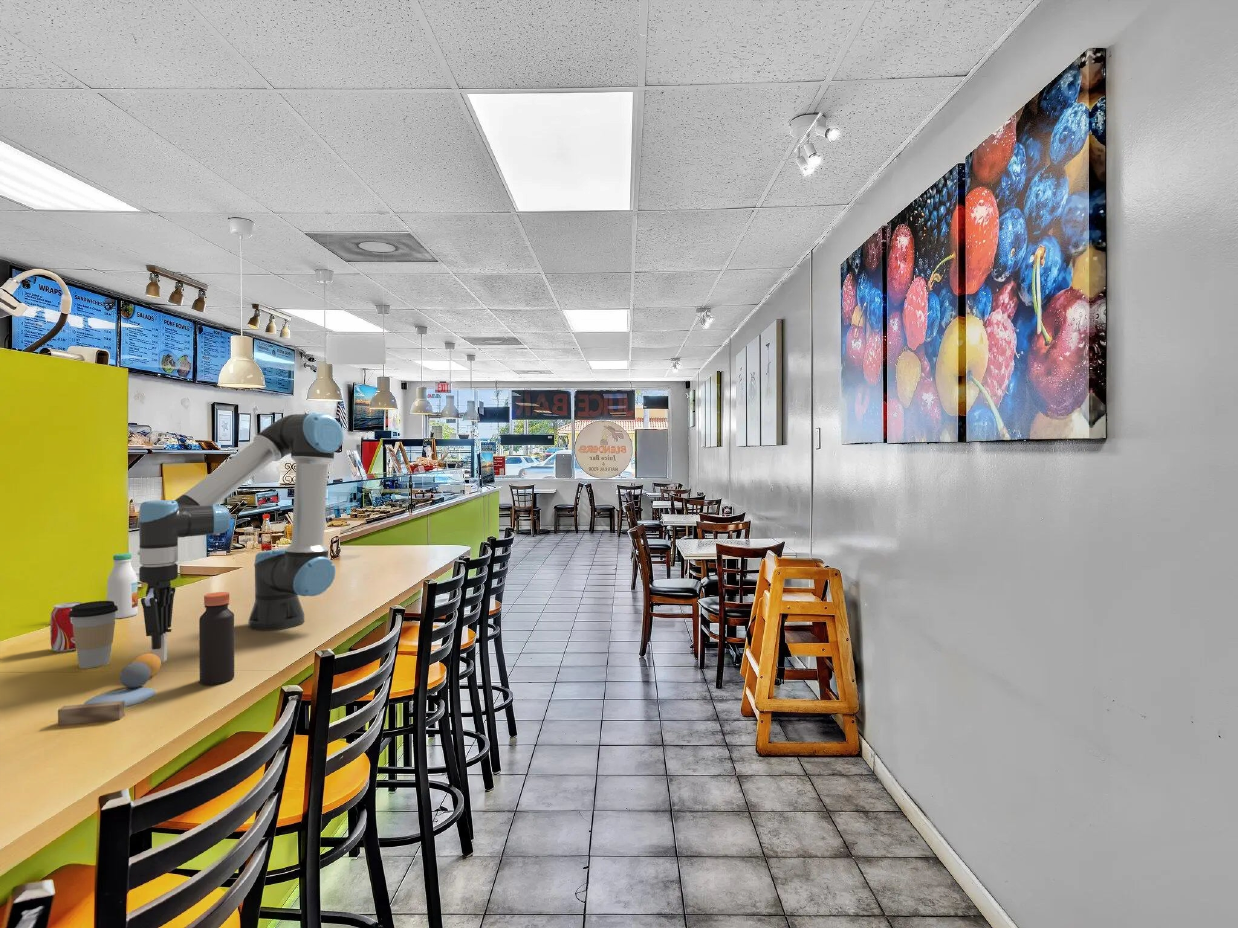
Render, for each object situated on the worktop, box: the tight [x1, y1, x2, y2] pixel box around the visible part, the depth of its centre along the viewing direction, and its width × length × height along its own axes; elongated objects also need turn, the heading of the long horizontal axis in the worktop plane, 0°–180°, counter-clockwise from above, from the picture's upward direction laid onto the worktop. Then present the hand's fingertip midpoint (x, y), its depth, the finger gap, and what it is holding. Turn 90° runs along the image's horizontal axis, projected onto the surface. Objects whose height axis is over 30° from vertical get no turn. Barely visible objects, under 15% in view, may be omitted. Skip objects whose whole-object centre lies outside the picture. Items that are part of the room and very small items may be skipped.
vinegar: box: [198, 591, 235, 686], centre depth 142 cm, size 7×7×20 cm
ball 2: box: [132, 652, 162, 678], centre depth 144 cm, size 6×6×6 cm
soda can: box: [49, 601, 83, 653], centre depth 165 cm, size 7×7×12 cm
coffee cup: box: [68, 600, 118, 669], centre depth 153 cm, size 9×9×15 cm
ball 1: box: [119, 662, 151, 689], centre depth 138 cm, size 6×6×6 cm
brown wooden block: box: [57, 701, 126, 726], centre depth 121 cm, size 10×2×3 cm, turn 106°
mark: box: [83, 686, 156, 708], centre depth 132 cm, size 12×12×1 cm
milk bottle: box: [106, 552, 139, 620], centre depth 198 cm, size 8×8×20 cm
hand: (159, 660), depth 150 cm, fingers closed
